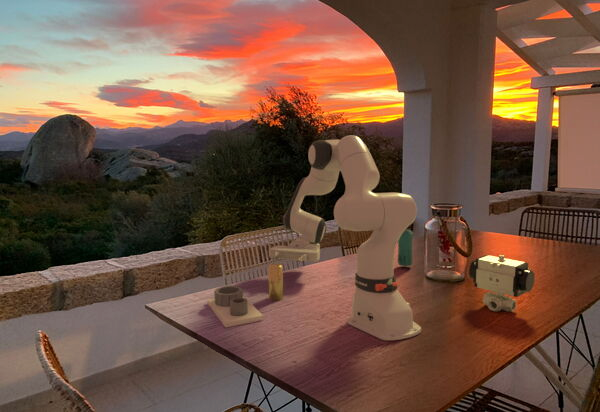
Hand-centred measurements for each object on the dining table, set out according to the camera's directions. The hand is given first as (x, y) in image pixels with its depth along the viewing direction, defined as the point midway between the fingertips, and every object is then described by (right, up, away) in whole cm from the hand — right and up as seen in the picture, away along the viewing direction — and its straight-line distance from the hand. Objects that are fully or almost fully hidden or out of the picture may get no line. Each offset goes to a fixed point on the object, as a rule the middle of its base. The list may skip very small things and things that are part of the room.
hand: (287, 258), depth 160 cm
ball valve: (+69, -14, -23) cm, 74 cm away
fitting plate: (-17, -15, -22) cm, 31 cm away
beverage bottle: (+51, -7, +26) cm, 58 cm away
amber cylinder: (-4, -13, -10) cm, 17 cm away
